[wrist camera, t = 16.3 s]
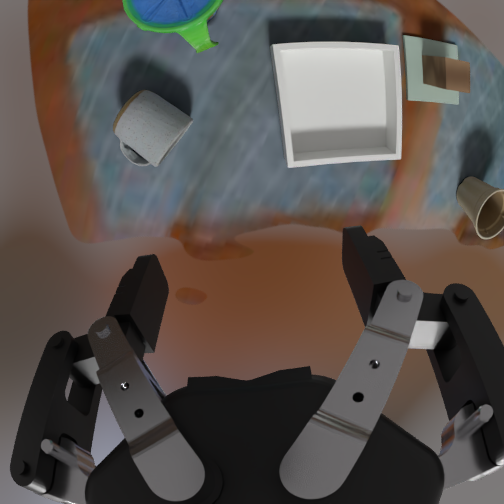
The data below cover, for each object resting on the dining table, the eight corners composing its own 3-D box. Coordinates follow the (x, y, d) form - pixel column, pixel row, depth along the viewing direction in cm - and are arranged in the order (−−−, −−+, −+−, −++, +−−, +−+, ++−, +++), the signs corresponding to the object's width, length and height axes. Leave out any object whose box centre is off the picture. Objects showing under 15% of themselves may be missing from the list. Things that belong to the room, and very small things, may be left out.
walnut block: (421, 55, 29) (445, 57, 25) (445, 59, 29) (469, 62, 24) (423, 83, 32) (446, 89, 27) (446, 86, 32) (470, 93, 27)
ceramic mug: (150, 83, 33) (129, 89, 27) (198, 115, 36) (187, 127, 30) (113, 143, 38) (89, 162, 32) (156, 172, 41) (140, 195, 35)
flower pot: (487, 200, 44) (513, 223, 36) (453, 221, 46) (478, 248, 39) (480, 159, 39) (511, 180, 32) (444, 181, 42) (473, 205, 35)
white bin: (269, 46, 31) (272, 44, 28) (385, 46, 30) (398, 45, 27) (284, 158, 40) (288, 167, 37) (389, 150, 39) (400, 159, 36)
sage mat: (402, 35, 28) (404, 35, 28) (455, 45, 28) (457, 45, 27) (406, 99, 34) (408, 100, 34) (456, 104, 34) (458, 104, 33)
